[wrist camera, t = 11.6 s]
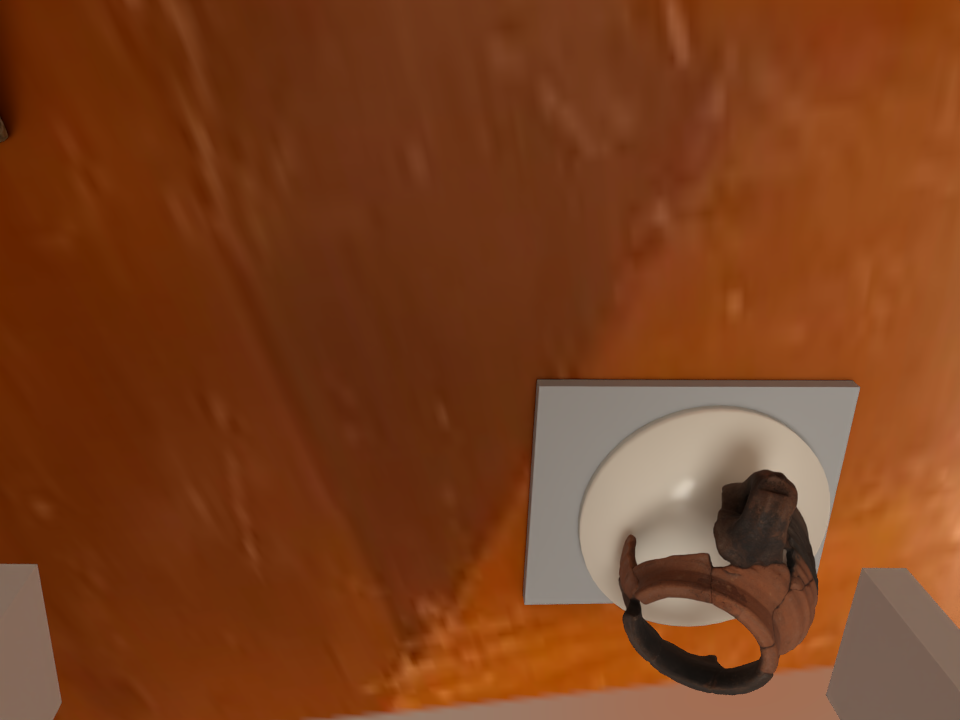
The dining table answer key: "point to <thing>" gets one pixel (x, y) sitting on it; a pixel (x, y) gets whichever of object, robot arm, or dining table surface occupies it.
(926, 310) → the dining table surface
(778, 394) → the felt placemat
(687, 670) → the broken terracotta ring
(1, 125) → the rock
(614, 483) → the cream round plate
